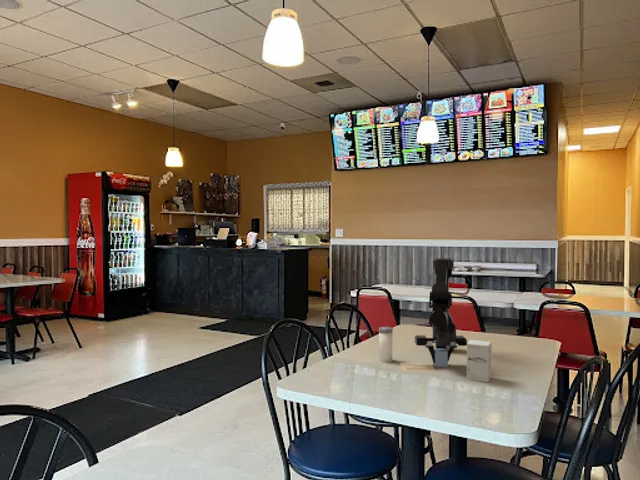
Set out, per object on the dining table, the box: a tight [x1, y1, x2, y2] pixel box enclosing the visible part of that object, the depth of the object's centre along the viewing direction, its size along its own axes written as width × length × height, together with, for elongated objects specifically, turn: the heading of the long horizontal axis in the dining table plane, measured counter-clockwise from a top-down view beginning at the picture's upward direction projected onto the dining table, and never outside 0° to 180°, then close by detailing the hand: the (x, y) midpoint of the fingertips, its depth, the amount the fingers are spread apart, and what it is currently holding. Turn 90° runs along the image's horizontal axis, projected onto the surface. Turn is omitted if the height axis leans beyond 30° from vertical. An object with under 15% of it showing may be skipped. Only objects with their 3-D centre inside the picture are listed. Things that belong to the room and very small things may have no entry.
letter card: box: [399, 362, 438, 373], centre depth 182 cm, size 12×12×1 cm
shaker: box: [378, 326, 394, 363], centre depth 193 cm, size 5×5×13 cm
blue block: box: [432, 348, 449, 368], centre depth 185 cm, size 4×4×6 cm
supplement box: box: [466, 339, 493, 383], centre depth 169 cm, size 7×7×13 cm
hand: (440, 363), depth 185 cm, fingers closed on blue block, 4 cm apart
